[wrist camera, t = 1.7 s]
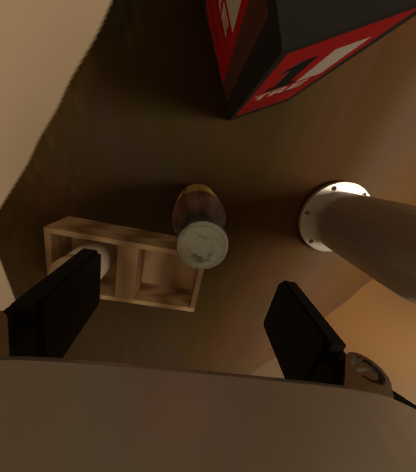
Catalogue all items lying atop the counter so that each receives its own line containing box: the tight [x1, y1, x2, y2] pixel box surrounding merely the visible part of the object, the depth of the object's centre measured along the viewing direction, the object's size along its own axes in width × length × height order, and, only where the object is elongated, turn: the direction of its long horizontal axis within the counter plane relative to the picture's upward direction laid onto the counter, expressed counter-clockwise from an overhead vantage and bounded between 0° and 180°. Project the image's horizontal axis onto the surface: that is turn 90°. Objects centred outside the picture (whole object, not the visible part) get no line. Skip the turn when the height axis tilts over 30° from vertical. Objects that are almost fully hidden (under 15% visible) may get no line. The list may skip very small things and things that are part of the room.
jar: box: [49, 240, 117, 280], centre depth 31 cm, size 6×6×8 cm
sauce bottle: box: [172, 184, 229, 269], centre depth 24 cm, size 7×6×20 cm
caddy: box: [44, 216, 204, 312], centre depth 34 cm, size 24×11×6 cm, turn 78°
